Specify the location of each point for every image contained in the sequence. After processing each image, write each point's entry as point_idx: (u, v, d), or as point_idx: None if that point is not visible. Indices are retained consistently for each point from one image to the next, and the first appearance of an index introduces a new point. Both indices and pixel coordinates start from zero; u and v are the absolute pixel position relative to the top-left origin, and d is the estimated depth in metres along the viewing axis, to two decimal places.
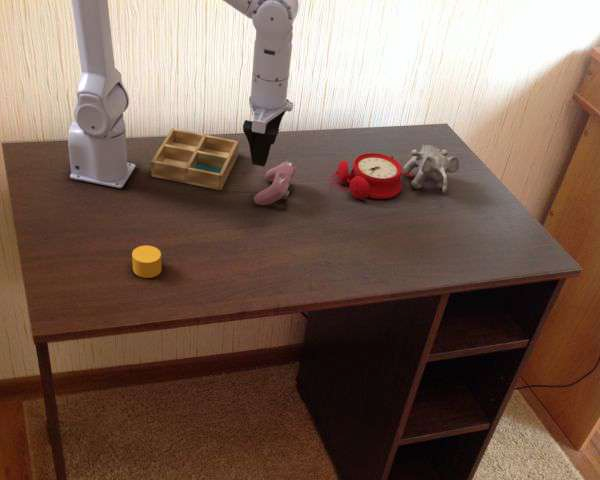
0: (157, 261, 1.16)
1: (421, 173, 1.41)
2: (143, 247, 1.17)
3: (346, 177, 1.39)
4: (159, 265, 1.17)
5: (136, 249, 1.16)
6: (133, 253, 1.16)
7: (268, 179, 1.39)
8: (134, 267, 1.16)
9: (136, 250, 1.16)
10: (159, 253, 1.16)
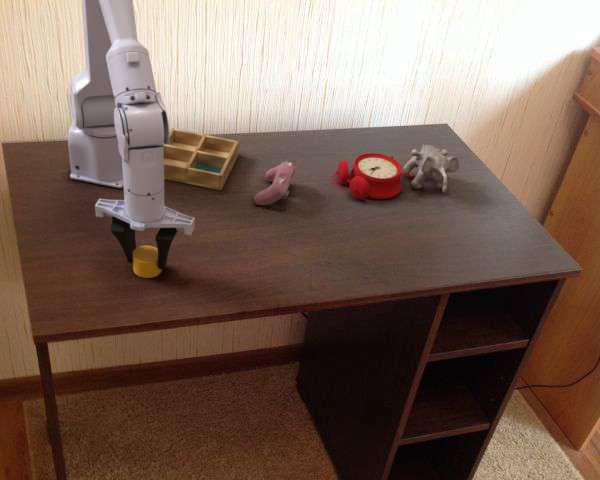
0: (157, 261, 1.16)
1: (421, 173, 1.41)
2: (143, 247, 1.17)
3: (346, 177, 1.39)
4: None
5: (136, 249, 1.16)
6: (133, 253, 1.16)
7: (268, 179, 1.39)
8: (135, 267, 1.16)
9: (136, 250, 1.16)
10: None
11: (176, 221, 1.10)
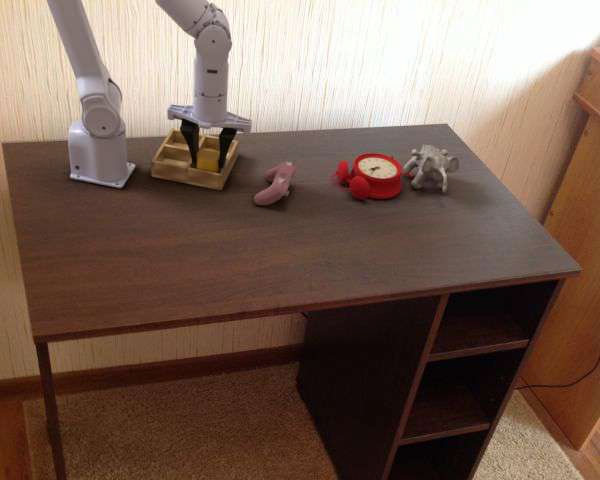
0: (218, 161, 1.34)
1: (421, 173, 1.41)
2: (205, 150, 1.36)
3: (346, 177, 1.39)
4: None
5: (199, 151, 1.35)
6: (197, 154, 1.35)
7: (268, 179, 1.39)
8: (198, 166, 1.35)
9: (200, 152, 1.35)
10: (219, 154, 1.35)
11: (236, 122, 1.29)
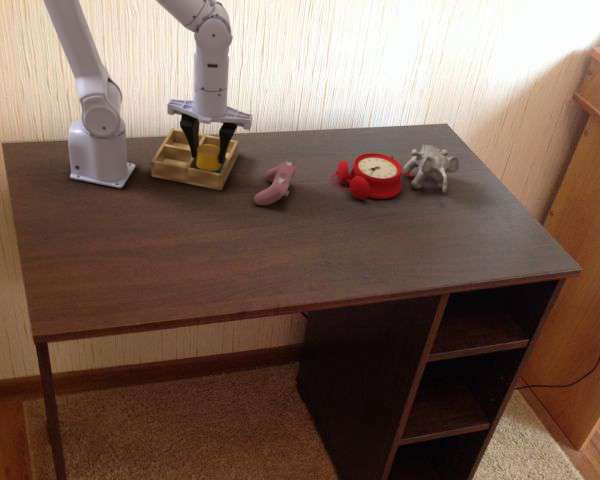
0: (218, 156, 1.34)
1: (421, 173, 1.41)
2: (205, 145, 1.35)
3: (346, 177, 1.39)
4: None
5: (199, 146, 1.35)
6: (197, 149, 1.34)
7: (268, 179, 1.39)
8: (198, 161, 1.34)
9: (200, 147, 1.34)
10: (219, 149, 1.35)
11: (237, 117, 1.28)
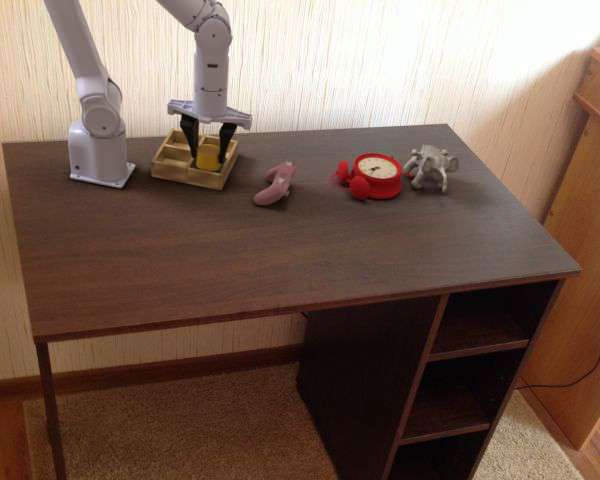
0: (218, 156, 1.34)
1: (421, 173, 1.41)
2: (205, 145, 1.35)
3: (346, 177, 1.39)
4: None
5: (199, 146, 1.35)
6: (197, 149, 1.34)
7: (268, 179, 1.39)
8: (198, 161, 1.34)
9: (199, 147, 1.34)
10: (219, 150, 1.35)
11: (237, 117, 1.28)
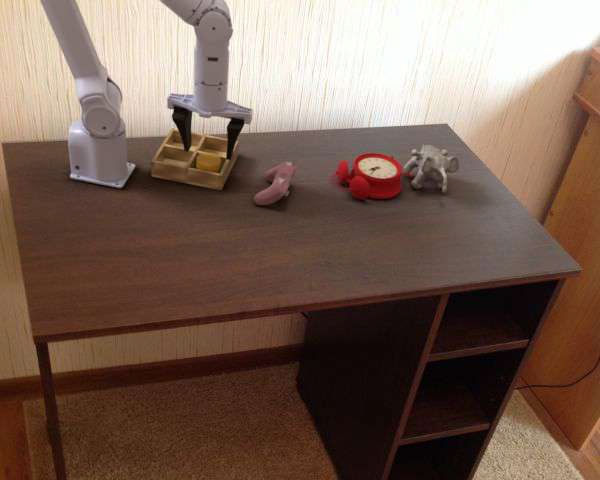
0: (218, 165, 1.35)
1: (421, 173, 1.41)
2: (205, 154, 1.36)
3: (346, 177, 1.39)
4: (219, 169, 1.36)
5: (199, 155, 1.36)
6: (197, 158, 1.35)
7: (268, 179, 1.39)
8: None
9: (199, 156, 1.36)
10: (219, 159, 1.36)
11: (237, 111, 1.28)
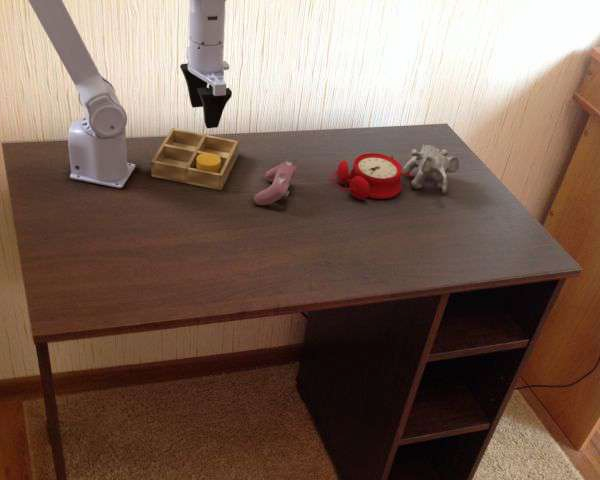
0: (218, 165, 1.35)
1: (421, 173, 1.41)
2: (205, 154, 1.36)
3: (346, 177, 1.39)
4: (219, 169, 1.36)
5: (199, 155, 1.36)
6: (197, 158, 1.35)
7: (268, 179, 1.39)
8: None
9: (199, 156, 1.36)
10: (219, 159, 1.36)
11: None
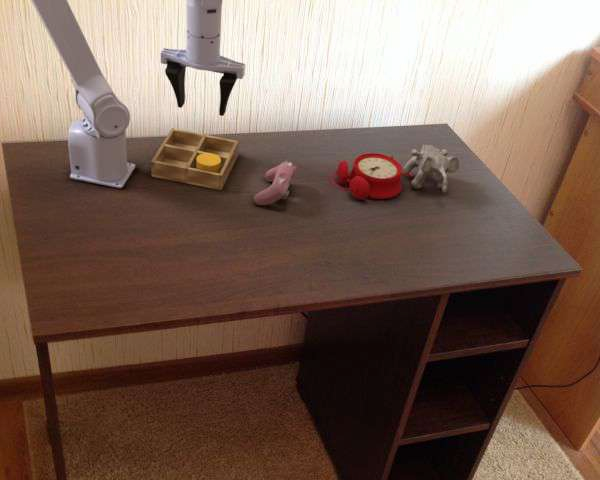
0: (218, 165, 1.35)
1: (421, 173, 1.41)
2: (205, 154, 1.36)
3: (346, 177, 1.39)
4: (219, 169, 1.36)
5: (199, 155, 1.36)
6: (197, 158, 1.35)
7: (268, 179, 1.39)
8: None
9: (199, 156, 1.36)
10: (219, 159, 1.36)
11: None
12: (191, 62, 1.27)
